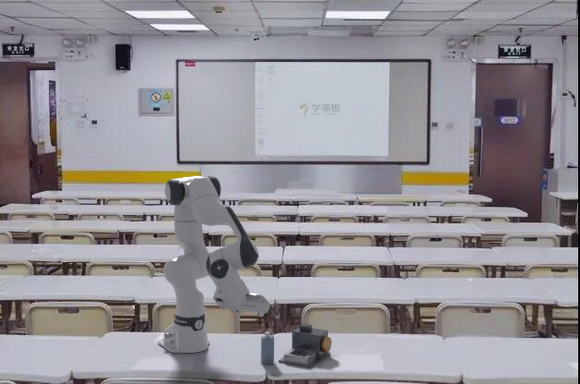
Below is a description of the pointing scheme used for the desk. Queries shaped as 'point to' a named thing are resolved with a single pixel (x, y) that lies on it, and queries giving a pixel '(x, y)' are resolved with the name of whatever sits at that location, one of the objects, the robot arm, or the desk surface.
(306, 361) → the gray recessed holder
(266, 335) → the bottle
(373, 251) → the desk surface
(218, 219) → the robot arm
